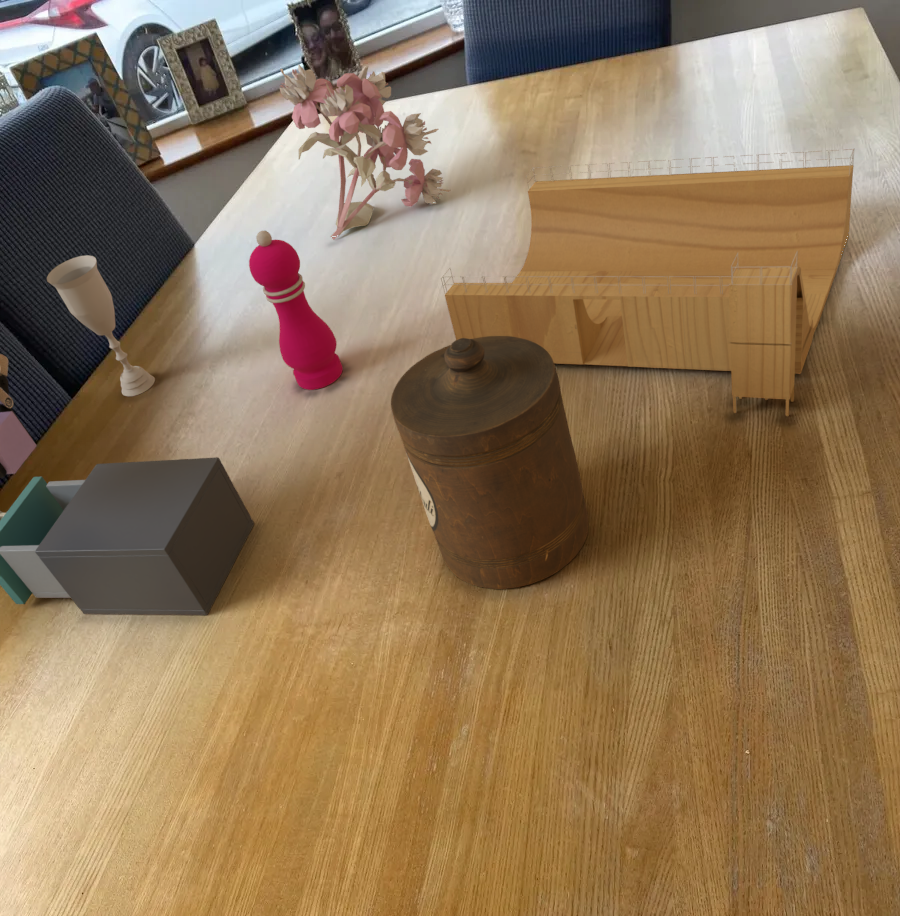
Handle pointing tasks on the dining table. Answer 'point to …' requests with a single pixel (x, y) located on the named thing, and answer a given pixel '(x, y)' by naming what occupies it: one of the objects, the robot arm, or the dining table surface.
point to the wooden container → (493, 459)
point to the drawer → (32, 539)
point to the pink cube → (13, 442)
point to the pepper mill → (295, 314)
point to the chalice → (96, 312)
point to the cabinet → (148, 538)
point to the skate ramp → (675, 272)
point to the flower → (354, 115)
